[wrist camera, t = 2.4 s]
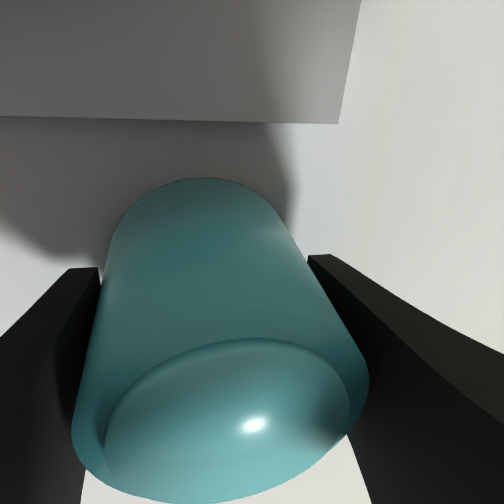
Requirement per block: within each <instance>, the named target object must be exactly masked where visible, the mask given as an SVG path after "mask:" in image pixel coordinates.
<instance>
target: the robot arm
mask: <svg viewBox="0 0 504 504" xmlns="http://www.w3.org/2000/svg"><path fill="white" fill-rule="evenodd" d="M307 263H308V265H309V267H310V268H311V270H312V272H313V273H314V275H315V277H316V278H317V280H318V282H319V283H320V285H321V287H322V288H323V290H324V292H325V293H326V295H327V297H328V299H329V300H330V302H331V304H332V305H333V307H334V309H335V310H336V312H337V314H338V315H339V317H340V319H341V320H342V322H343V324H344V325H345V327H346V329H347V330H348V332H349V334H350V335H351V337H352V339H353V340H354V342H355V344H356V345H357V347H358V349H359V350H360V352H361V354H362V355H363V357H364V359H365V362H366V365H367V368H368V373H369V391H368V395H367V399H366V403H365V405H364V407H363V410H362V412H361V414H360V416H359V417H358V419H357V420H356V422H355V424H354V425H353V426H352V428H351V429H350V430H349V431H348V433H347V436H348V438H349V441H350V443H351V445H352V448H353V451H354V454H355V456H356V459H357V462H358V465H359V468H360V471H361V473H362V476H363V479H364V482H365V485H366V487H367V490H368V493H369V496H370V499H371V502H372V504H504V354H502V353H500V352H498V351H496V350H494V349H491V348H489V347H487V346H485V345H483V344H481V343H479V342H477V341H475V340H473V339H471V338H469V337H467V336H465V335H463V334H461V333H459V332H458V331H456V330H454V329H452V328H450V327H448V326H446V325H444V324H443V323H441V322H439V321H437V320H436V319H434V318H432V317H431V316H429V315H427V314H425V313H424V312H422V311H420V310H418V309H417V308H415V307H413V306H412V305H410V304H409V303H407V302H405V301H404V300H402V299H400V298H399V297H397V296H396V295H394V294H393V293H391V292H389V291H388V290H386V289H385V288H383V287H382V286H380V285H379V284H377V283H376V282H374V281H372V280H371V279H369V278H368V277H366V276H365V275H363V274H362V273H360V272H359V271H357V270H356V269H354V268H353V267H351V266H350V265H348V264H346V263H345V262H343V261H342V260H340V259H338V258H337V257H335V256H333V255H331V254H324V255H308V260H307ZM100 289H101V284H100V278H99V273H98V267H89V268H71V269H68V270H67V271H66V272H65V273H64V274H63V275H62V276H61V277H60V278H59V279H58V280H57V281H56V282H55V283H54V284H53V285H52V286H51V287H50V288H49V289H48V290H47V291H46V292H45V293H44V294H43V295H42V296H41V297H40V298H39V299H38V300H37V301H36V302H35V303H34V305H33V306H32V307H31V308H30V309H29V310H28V311H27V312H26V313H25V314H24V315H23V316H22V317H20V318H19V319H18V320H17V321H16V322H15V323H14V324H13V325H12V326H11V327H10V328H9V329H8V330H7V331H6V332H5V333H4V334H3V335H2V336H1V337H0V504H80V502H81V494H82V488H83V482H84V476H85V471H86V468H85V466H84V465H83V464H82V462H81V461H80V460H79V458H78V456H77V454H76V451H75V449H74V446H73V441H72V436H71V431H72V419H73V414H74V410H75V405H76V400H77V396H78V391H79V386H80V382H81V377H82V372H83V368H84V363H85V358H86V354H87V349H88V345H89V340H90V335H91V331H92V326H93V321H94V317H95V312H96V307H97V303H98V298H99V293H100Z"/></svg>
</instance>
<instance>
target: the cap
mask: <svg viewBox="0 0 504 504" xmlns="http://www.w3.org/2000/svg"><path fill="white" fill-rule="evenodd" d="M368 391H369V373H368V368H367V365H366V362H365V359H364V357H363V355H362V354H361V352H360V350H359V349H358V347H357V345H356V344H355V342H354V340H353V339H352V337H351V335H350V334H349V332H348V330H347V329H346V327H345V325H344V324H343V322H342V320H341V319H340V317H339V315H338V314H337V312H336V310H335V309H334V307H333V305H332V304H331V302H330V300H329V299H328V297H327V295H326V293H325V292H324V290H323V288H322V287H321V285H320V283H319V282H318V280H317V278H316V277H315V275H314V273H313V272H312V270H311V268H310V267H309V265H308V263H307V262H306V260H305V258H304V257H303V255H302V253H301V252H300V250H299V248H298V247H297V245H296V243H295V242H294V240H293V238H292V237H291V235H290V233H289V232H288V230H287V228H286V227H285V225H284V223H283V222H282V220H281V218H280V217H279V215H278V213H277V212H276V210H275V209H274V208H273V207H272V206H271V204H270V203H269V202H268V201H266V200H265V199H264V198H263V197H262V196H261V195H259V194H257V193H256V192H254V191H253V190H251V189H249V188H247V187H245V186H243V185H241V184H238V183H234V182H231V181H227V180H222V179H216V178H193V179H186V180H181V181H176V182H173V183H170V184H167V185H164V186H162V187H160V188H158V189H155V190H153V191H151V192H150V193H148V194H147V195H145V196H144V197H142V198H141V199H140V200H138V201H137V202H136V203H135V204H134V205H133V206H131V208H130V209H129V210H128V211H127V212H126V213H125V214H124V216H123V217H122V219H121V220H120V222H119V223H118V225H117V227H116V229H115V231H114V233H113V236H112V239H111V243H110V247H109V252H108V256H107V261H106V265H105V270H104V275H103V279H102V284H101V289H100V293H99V298H98V303H97V307H96V312H95V317H94V321H93V326H92V331H91V335H90V340H89V345H88V349H87V354H86V358H85V363H84V368H83V372H82V377H81V382H80V386H79V391H78V396H77V400H76V405H75V410H74V414H73V419H72V431H71V436H72V441H73V446H74V449H75V451H76V454H77V456H78V458H79V460H80V461H81V462H82V464H83V465H84V466H85V468H86V469H87V470H88V471H89V472H90V473H91V474H93V475H94V476H95V477H96V478H97V479H99V480H100V481H102V482H104V483H105V484H107V485H108V486H111V487H113V488H115V489H117V490H119V491H122V492H125V493H128V494H131V495H134V496H139V497H143V498H148V499H151V500H155V501H160V502H165V503H172V504H210V503H219V502H225V501H231V500H235V499H240V498H244V497H247V496H251V495H254V494H257V493H260V492H263V491H266V490H268V489H271V488H273V487H275V486H278V485H280V484H282V483H284V482H286V481H288V480H290V479H292V478H294V477H295V476H297V475H299V474H300V473H302V472H304V471H305V470H307V469H308V468H309V467H311V466H312V465H314V464H315V463H316V462H317V461H318V460H320V459H321V458H322V457H323V456H324V455H325V454H326V453H327V452H328V451H329V450H331V449H332V448H333V447H334V446H335V445H336V444H337V443H338V442H339V441H340V440H341V439H342V438H343V437H344V436H345V435H346V434H347V433H348V431H349V430H350V429H351V428H352V426H353V425H354V424H355V422H356V420H357V419H358V417H359V416H360V414H361V412H362V410H363V407H364V405H365V403H366V399H367V395H368Z"/></svg>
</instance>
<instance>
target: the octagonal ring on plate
mask: <svg viewBox="0 0 504 504" xmlns="http://www.w3.org/2000/svg"><path fill="white" fill-rule="evenodd" d="M360 3H361V0H0V116H31V117H71V118H111V119H152V120H192V121H232V122H272V123H313V124H338V121H339V115H340V110H341V105H342V99H343V94H344V89H345V83H346V78H347V72H348V67H349V62H350V56H351V51H352V46H353V40H354V35H355V30H356V24H357V19H358V14H359V8H360Z"/></svg>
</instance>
